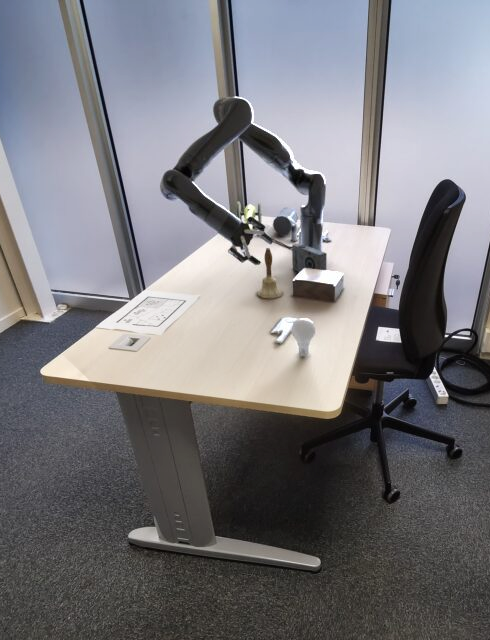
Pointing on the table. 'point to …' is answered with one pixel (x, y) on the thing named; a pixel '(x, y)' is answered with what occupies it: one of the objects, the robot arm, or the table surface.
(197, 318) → the table surface
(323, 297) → the block
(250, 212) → the cannon
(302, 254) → the camera
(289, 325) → the white cleaver
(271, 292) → the hand bell
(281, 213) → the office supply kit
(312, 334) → the lightbulb
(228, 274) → the table surface
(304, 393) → the table surface
